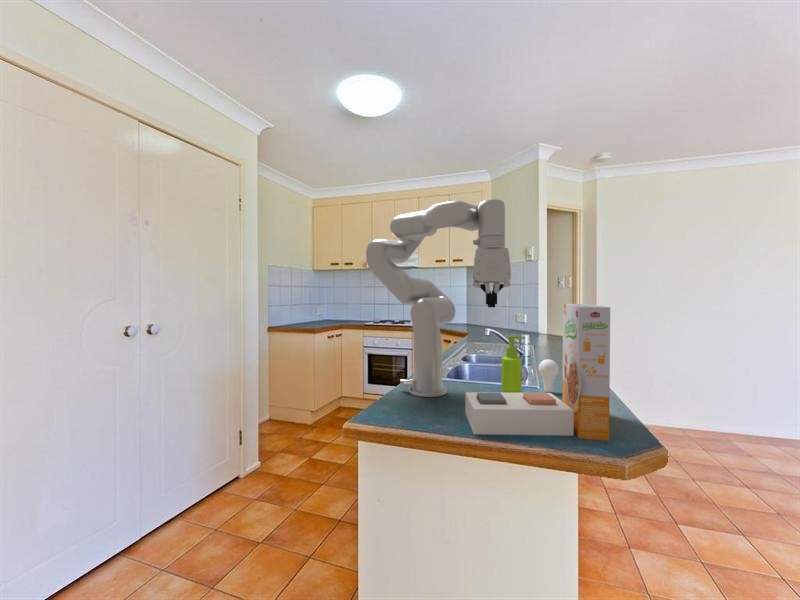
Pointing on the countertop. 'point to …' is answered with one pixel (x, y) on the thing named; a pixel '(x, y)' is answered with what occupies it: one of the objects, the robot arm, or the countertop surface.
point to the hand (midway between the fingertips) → (491, 306)
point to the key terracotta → (539, 399)
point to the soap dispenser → (512, 368)
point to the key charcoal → (491, 398)
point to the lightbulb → (548, 373)
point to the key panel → (518, 416)
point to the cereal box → (587, 368)
